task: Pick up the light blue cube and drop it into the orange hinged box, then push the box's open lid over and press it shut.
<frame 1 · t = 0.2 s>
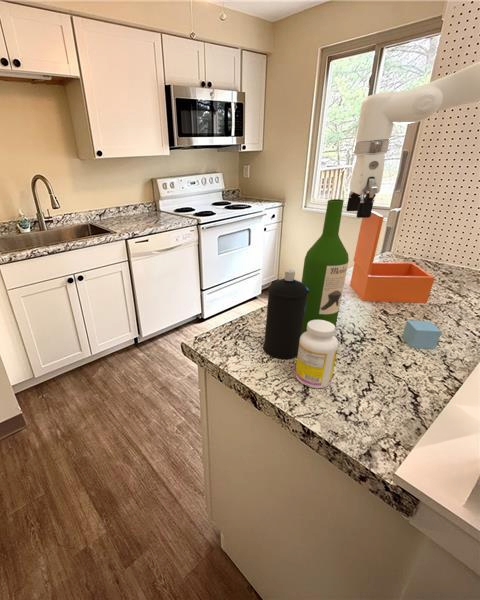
hand: (357, 214, 89), 24 cm above the countertop, tool pointing down, fingers open, 9 cm apart
orange box lid: (367, 240, 90), point 16 cm above the countertop, hinge at 90.0°
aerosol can: (280, 350, 74), on the countertop
orange hinged box: (385, 293, 95), on the countertop
wine bottle: (314, 330, 80), on the countertop
light blue cube: (418, 342, 71), on the countertop
supplement bottle: (312, 379, 64), on the countertop
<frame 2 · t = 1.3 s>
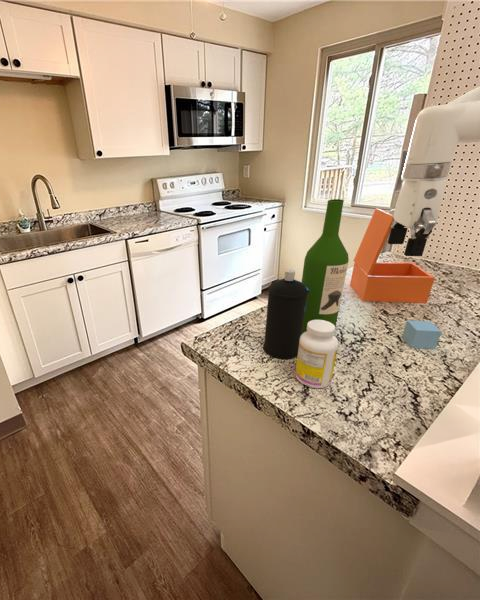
hand: (403, 249, 73), 19 cm above the countertop, tool pointing down, fingers open, 9 cm apart
orange box lid: (372, 241, 89), point 16 cm above the countertop, hinge at 79.7°
everything else where it was.
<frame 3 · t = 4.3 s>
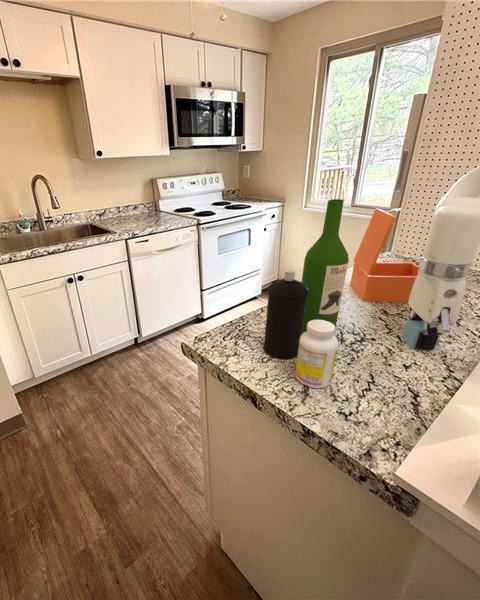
hand: (418, 341, 71), 0 cm above the countertop, tool pointing down, fingers closed on light blue cube, 4 cm apart
light blue cube: (418, 342, 71), on the countertop, touching gripper
everything else where it was.
when the fingers open (6 cm above the countertop, at t = 10.9 s): light blue cube drops 5 cm, resting on orange hinged box.
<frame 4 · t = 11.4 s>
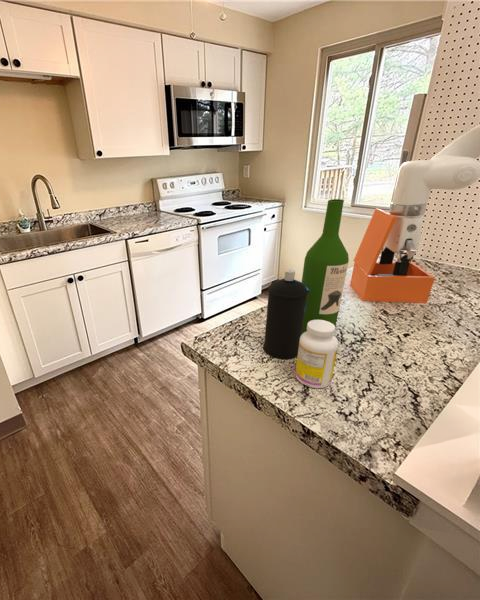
hand: (392, 269, 91), 8 cm above the countertop, tool pointing down, fingers open, 9 cm apart
light blue cube: (385, 290, 94), point 1 cm above the countertop, touching orange hinged box
everything else where it was.
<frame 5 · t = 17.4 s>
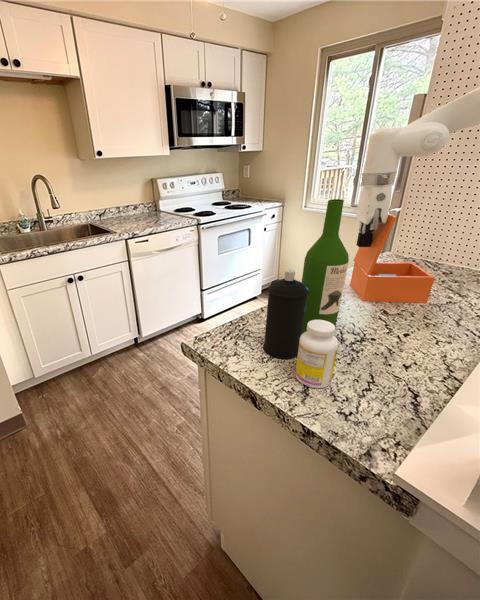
hand: (363, 246, 91), 15 cm above the countertop, tool pointing down, fingers closed
orange box lid: (373, 241, 89), point 16 cm above the countertop, hinge at 79.6°, touching gripper
everything else where it was.
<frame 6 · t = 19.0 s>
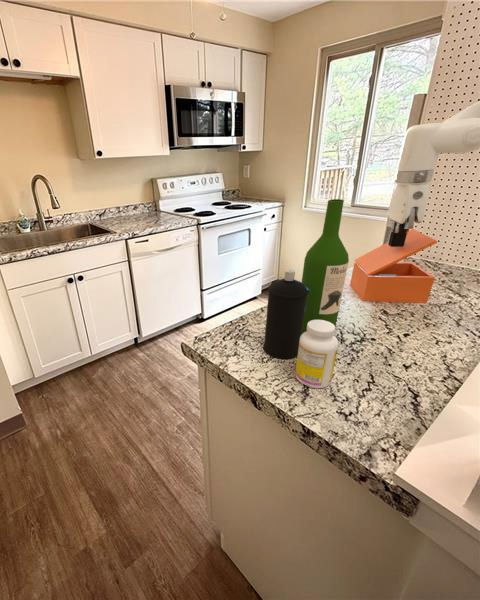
hand: (395, 245, 88), 15 cm above the countertop, tool pointing down, fingers closed
orange box lid: (391, 252, 89), point 13 cm above the countertop, hinge at 35.5°
everything else where it was.
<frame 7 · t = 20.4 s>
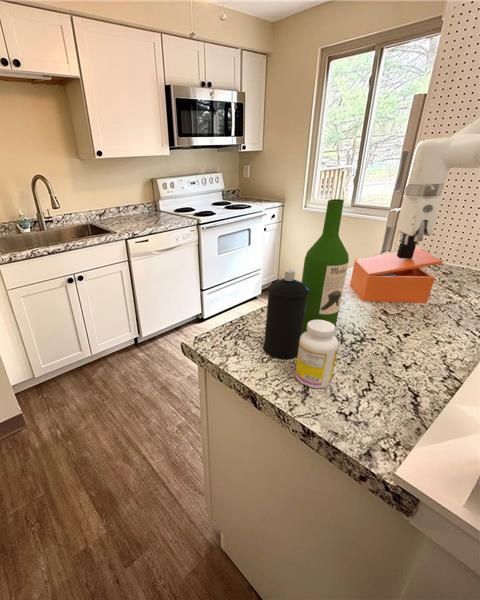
hand: (404, 257, 89), 11 cm above the countertop, tool pointing down, fingers closed
orange box lid: (394, 261, 90), point 10 cm above the countertop, hinge at 13.7°
everything else where it was.
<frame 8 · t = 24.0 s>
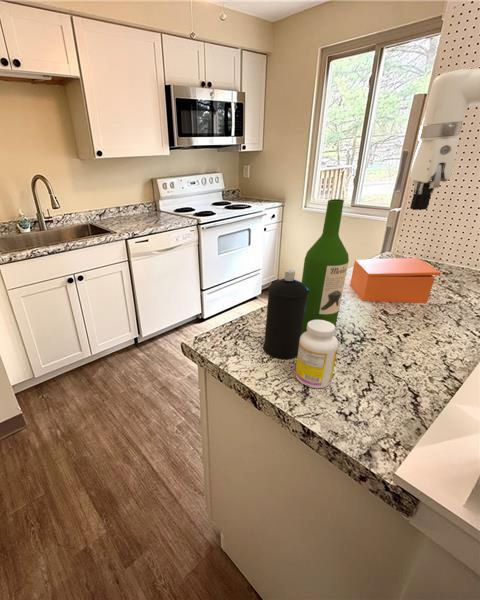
hand: (418, 209, 83), 25 cm above the countertop, tool pointing down, fingers closed
orange box lid: (393, 266, 91), point 9 cm above the countertop, hinge at 2.3°
everything else where it was.
at the end: light blue cube inside the target area in the orange hinged box (0.0 cm from its centre), point 0.8 cm above the orange hinged box's base; orange box lid at +2° (first picture: +90°) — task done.
